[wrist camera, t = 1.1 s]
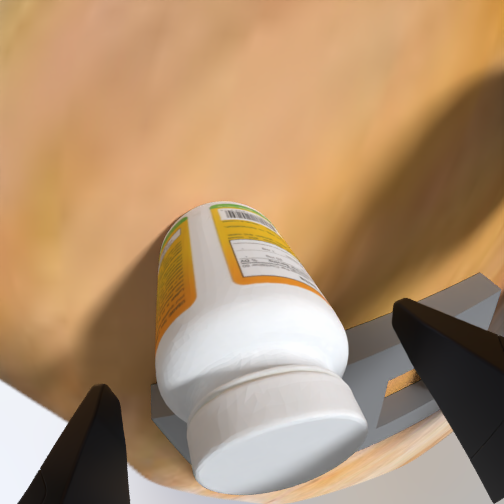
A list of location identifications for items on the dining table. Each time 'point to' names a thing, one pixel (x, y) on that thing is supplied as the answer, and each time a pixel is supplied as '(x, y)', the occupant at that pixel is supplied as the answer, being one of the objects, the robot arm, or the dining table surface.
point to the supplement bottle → (250, 355)
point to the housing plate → (376, 367)
